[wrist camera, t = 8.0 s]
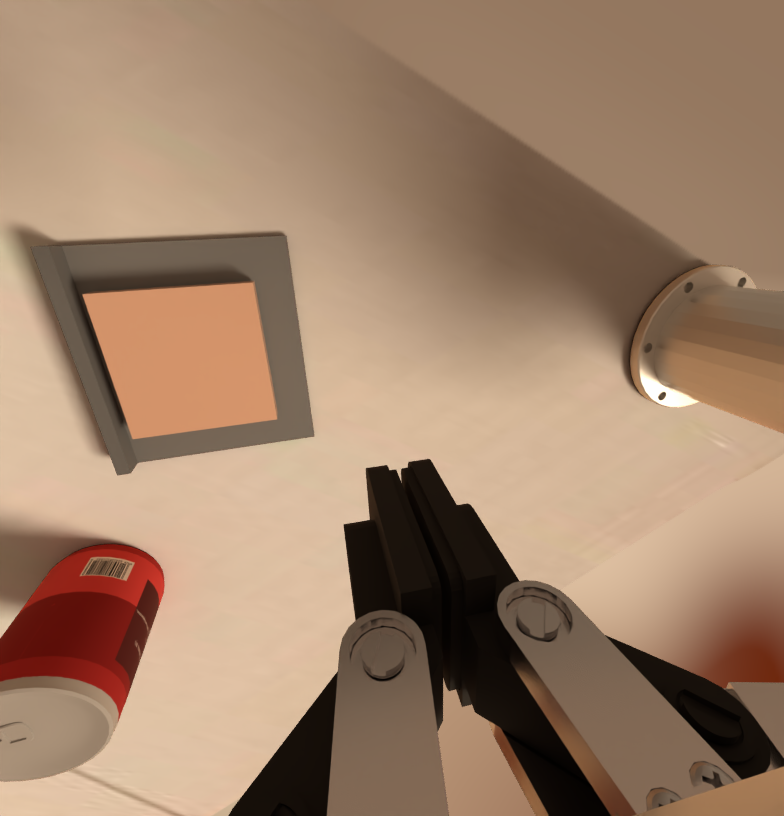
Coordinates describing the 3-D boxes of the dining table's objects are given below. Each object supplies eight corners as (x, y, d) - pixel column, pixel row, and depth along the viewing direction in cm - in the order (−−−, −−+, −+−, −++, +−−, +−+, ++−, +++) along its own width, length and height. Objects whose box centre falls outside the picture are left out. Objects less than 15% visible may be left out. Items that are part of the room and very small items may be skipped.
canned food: (25, 567, 29) (-112, 736, 19) (133, 524, 29) (56, 665, 20) (90, 630, 32) (2, 802, 22) (186, 591, 33) (142, 740, 23)
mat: (286, 235, 25) (286, 235, 23) (314, 434, 30) (315, 444, 29) (49, 246, 22) (30, 246, 20) (127, 461, 28) (117, 475, 26)
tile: (252, 282, 23) (82, 294, 22) (277, 419, 27) (132, 439, 25) (254, 280, 25) (95, 291, 23) (277, 410, 28) (140, 428, 27)
